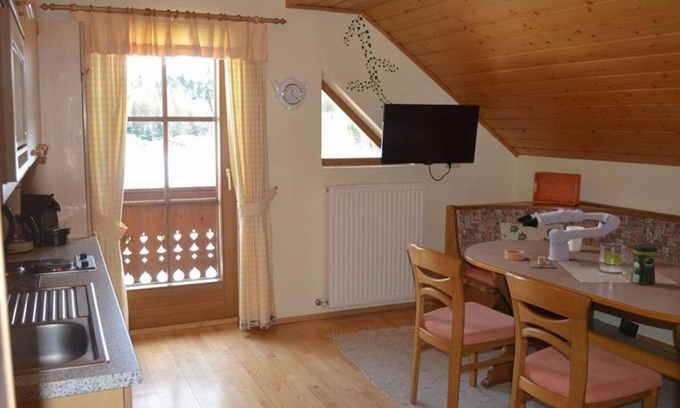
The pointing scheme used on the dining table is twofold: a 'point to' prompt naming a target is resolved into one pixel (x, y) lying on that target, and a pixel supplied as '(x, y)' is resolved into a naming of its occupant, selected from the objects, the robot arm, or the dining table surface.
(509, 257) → the bowl
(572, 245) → the foam cup
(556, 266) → the mat
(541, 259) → the square tan board
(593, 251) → the dining table surface
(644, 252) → the coffee jar
